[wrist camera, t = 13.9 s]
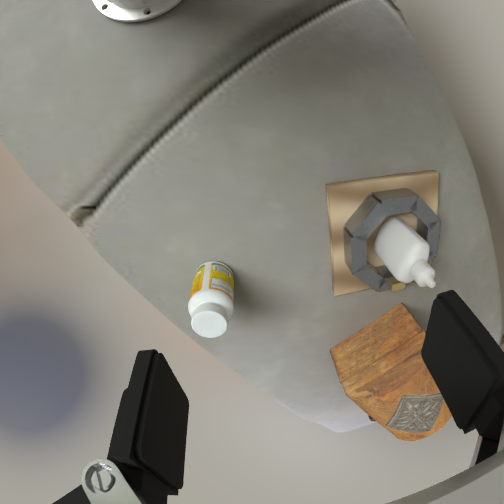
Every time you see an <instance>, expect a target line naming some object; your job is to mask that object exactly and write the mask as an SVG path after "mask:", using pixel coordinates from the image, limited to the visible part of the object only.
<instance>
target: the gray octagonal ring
mask: <svg viewBox="0 0 504 504" xmlns="http://www.w3.org/2000/svg"><path fill="white" fill-rule="evenodd" d="M371 195H372V196H371ZM371 195H370V194H369V195H368V196H367V197H366V198H365V200H364V201H363V202H362V203H361V205H360V206H359V207H358V208H357V210H356V211H355V212H354V213H353V214H352V216H351V217H350V218H349V219H348V221H347V222H346V223H345V224H344V225H345V226H346V227H343V233H344V259H345V263H346V265H347V266H348V268H349V270H350V271H351V273H352V275H353V276H355V277H356V278H358V279H359V280H361V281H362V282H363V283H365V284H366V285H368V286H369V287H371V288H372V289H374V290H375V291H379V292H380V291H385V290H389V289H390V290H391V292H394V291H398V290H402V289H405V285H409V284H410V283H411V282H412V283H413V282H414V280H413V281H411V282H409V283H403V282H400V281H398V280H397V279H396V278H395V277H394V276H393V275H392V273H391V272H390V271H389V269H388V268H387V267H386V266H385V265H383V266H378V267H375V266H374V265H372V264H371V263H370V262H368V261H367V260H366V259H367V239H368V237H369V236H370V235H371V234H372V233H373V231H374V230H375V229H376V228H377V227H378V225H379V224H380V223H381V222H382V221H383V219H384V218H385V217H386V216H389V215H395V214H401V213H406V212H411V213H412V214H413V215H414V216H415V217H416V218H417V229H416V232H417V233H418V234H419V235H420V236H421V237H422V238H423V239H424V240H425V241H426V242H427V243H428V244H429V248H430V250H429V257H428V261H427V263H428V264H430V262H431V261H432V260H433V259H434V258H435V257H436V256H435V254H437V248H438V240H439V231H440V220H439V219H440V218H439V217H438V216H437V215H436V214H435V213H434V211H433V210H432V209H431V208H430V207H429V206H428V205H427V204H426V203H425V202H424V201H423V199H422V198H421V197H420V196H418V195H417V194H416V193H414V192H413V191H411V190H410V189H407V188H399V189H392V190H385V191H379V192H372V193H371Z"/></svg>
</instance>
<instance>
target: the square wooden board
mask: <svg viewBox="0 0 504 504" xmlns="http://www.w3.org/2000/svg"><path fill="white" fill-rule="evenodd" d="M399 188H407V189H410V190H411V191H413V192H414V193H416V194H417V195H418V196H420V197H421V198H422V199H423V201H424V202H425V203H426V204H427V205H428V206H429V207H430V208H431V209H432V210H433V211H434V213H435V214H436V215H437V207H438V188H439V172H437V171H435V170H432V171H422V172H413V173H405V174H396V175H388V176H380V177H373V178H365V179H358V180H351V181H344V182H338V183H331V184H326V193H327V204H328V215H329V228H330V243H331V259H332V280H333V292H334V295H335V296H337V295H342V294H347V293H351V292H356V291H360V290H365V289H369V288H371V287H369V286H368V285H366V284H365V283H363V282H362V281H361V280H359V279H358V278H356V277H355V276H353V275H352V273H351V271H350V270H349V268H348V266H347V265H346V263H345V259H344V233H343V227H346V226H345V225H344V224H345V223H346V222H347V221H348V219H349V218H350V217H351V216H352V214H353V213H354V212H355V211H356V210H357V208H358V207H359V206H360V205H361V203H362V202H363V201H364V200H365V198H366V197H367V196H368V195H369V194H370V195H371V193H372V192H379V191H385V190H392V189H399ZM371 196H372V195H371ZM391 216H395V217H398V218H400V219H402V220H403V221H405V222H406V223H407V224H408V225H409V226H410V227H411V228H412V229H413V230H415V231H416V229H417V218H416V217H415V216H414V215H413V214H412V213H411V212H406V213H401V214H395V215H389V216H386V217H385V218H384V219H383V221H382V222H381V223H380V224H379V225H378V227H377V228H376V229H375V230H374V231H373V233H372V234H371V235H370V236H369V237H368V239H367V259H366V260H367V261H368V262H370V263H371V264H372V265H374V266H375V267H378V266H383V265H385V264H384V263H383V262H382V260H381V259H380V258H379V256H378V255H377V254H376V253H375V250H374V244H375V239H376V236H377V234H378V232H379V230H380V228H381V227H382V225H383V224H384V223H385V222H386V220H387V219H389V218H390V217H391ZM429 265H430V266H431V265H432V261H431V262H430V264H429Z"/></svg>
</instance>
